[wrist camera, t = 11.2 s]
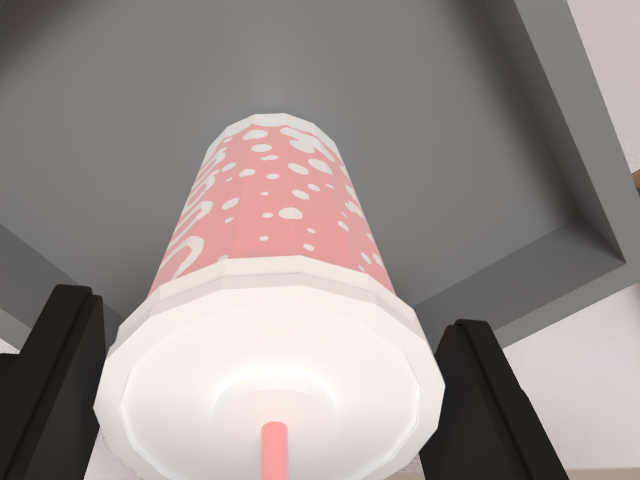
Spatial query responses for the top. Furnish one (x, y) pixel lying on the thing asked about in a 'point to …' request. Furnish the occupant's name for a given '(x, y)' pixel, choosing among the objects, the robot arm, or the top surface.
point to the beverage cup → (270, 329)
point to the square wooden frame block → (637, 180)
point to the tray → (338, 124)
